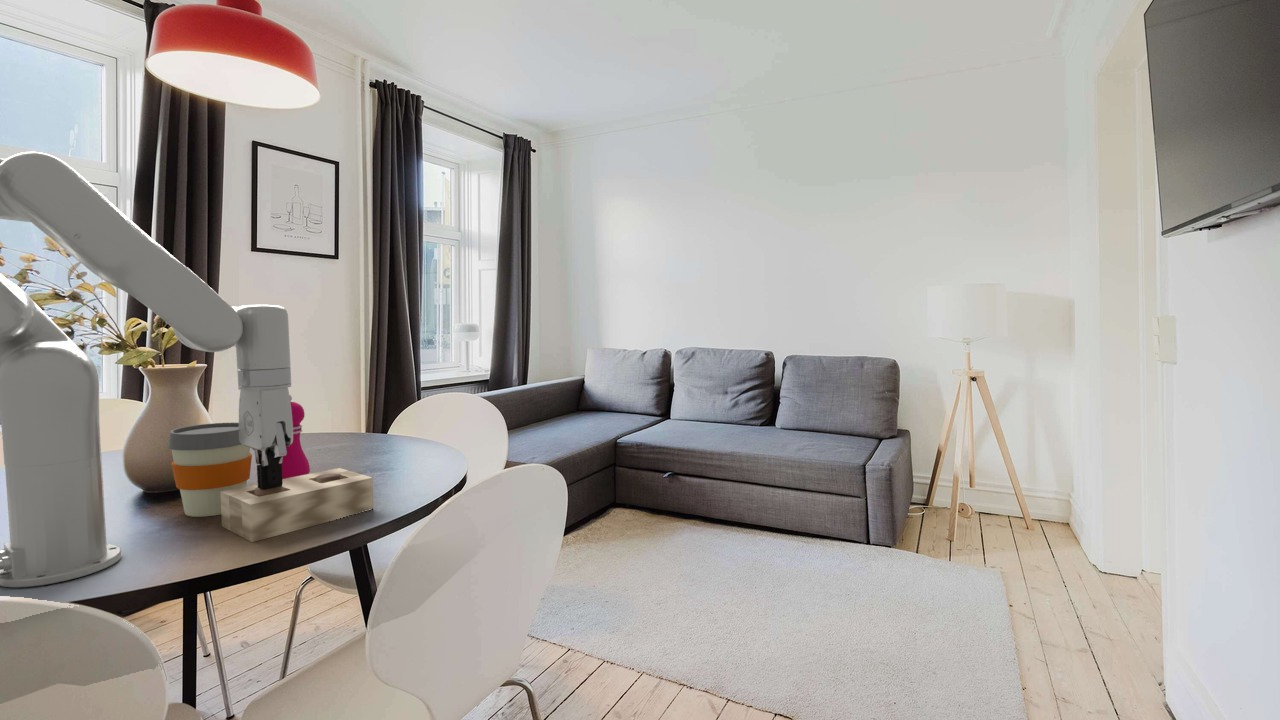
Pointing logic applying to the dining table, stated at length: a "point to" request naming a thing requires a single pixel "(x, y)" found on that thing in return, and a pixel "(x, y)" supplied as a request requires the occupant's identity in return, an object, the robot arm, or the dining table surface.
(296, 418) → the pepper mill
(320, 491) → the oak socket block
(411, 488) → the dining table surface
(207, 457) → the reusable coffee cup
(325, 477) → the far walnut peg
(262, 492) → the near walnut peg
